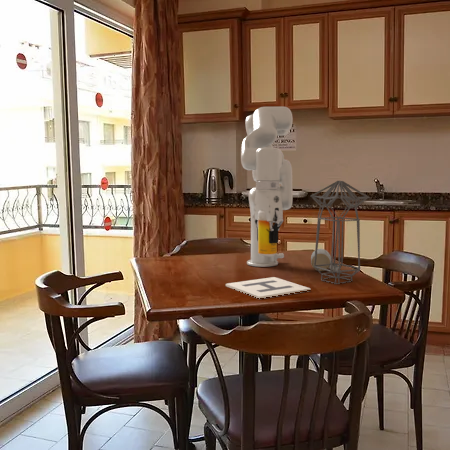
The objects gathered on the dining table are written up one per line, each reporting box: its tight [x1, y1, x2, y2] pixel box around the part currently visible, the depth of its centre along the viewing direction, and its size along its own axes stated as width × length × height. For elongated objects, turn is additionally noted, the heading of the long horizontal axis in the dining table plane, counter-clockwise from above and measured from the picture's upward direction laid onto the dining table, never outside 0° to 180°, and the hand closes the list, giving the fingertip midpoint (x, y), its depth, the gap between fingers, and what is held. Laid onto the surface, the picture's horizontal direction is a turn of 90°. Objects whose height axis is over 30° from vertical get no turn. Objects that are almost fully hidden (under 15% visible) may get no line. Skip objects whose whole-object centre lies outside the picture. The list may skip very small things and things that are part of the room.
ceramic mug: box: [310, 248, 339, 272], centre depth 202 cm, size 11×8×8 cm
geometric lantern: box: [310, 180, 371, 285], centre depth 182 cm, size 16×16×35 cm
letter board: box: [225, 276, 311, 300], centre depth 173 cm, size 20×20×1 cm
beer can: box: [258, 210, 278, 257], centre depth 171 cm, size 6×6×15 cm
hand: (267, 241), depth 171 cm, fingers closed on beer can, 6 cm apart
